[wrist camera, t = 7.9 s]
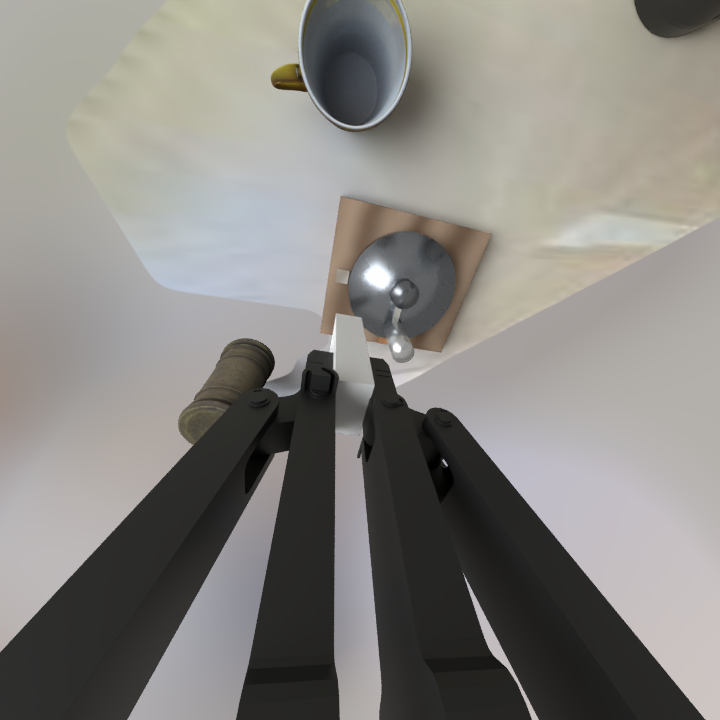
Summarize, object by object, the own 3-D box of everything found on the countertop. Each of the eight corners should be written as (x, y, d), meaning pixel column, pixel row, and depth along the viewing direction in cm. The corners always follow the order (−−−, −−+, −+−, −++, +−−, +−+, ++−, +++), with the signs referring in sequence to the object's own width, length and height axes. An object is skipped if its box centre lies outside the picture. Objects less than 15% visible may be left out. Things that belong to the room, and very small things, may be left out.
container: (215, 343, 47) (157, 413, 32) (263, 332, 47) (228, 397, 32) (238, 382, 52) (197, 459, 37) (282, 372, 52) (259, 446, 36)
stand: (481, 231, 41) (492, 234, 38) (435, 344, 51) (441, 353, 48) (340, 196, 37) (340, 196, 34) (321, 325, 47) (320, 333, 44)
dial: (358, 220, 36) (364, 227, 27) (466, 242, 38) (503, 255, 30) (341, 327, 44) (342, 359, 35) (431, 339, 46) (453, 371, 38)
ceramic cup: (387, 22, 29) (409, -51, 20) (395, 139, 34) (414, 120, 26) (271, 45, 29) (244, -17, 21) (297, 157, 34) (283, 145, 26)
